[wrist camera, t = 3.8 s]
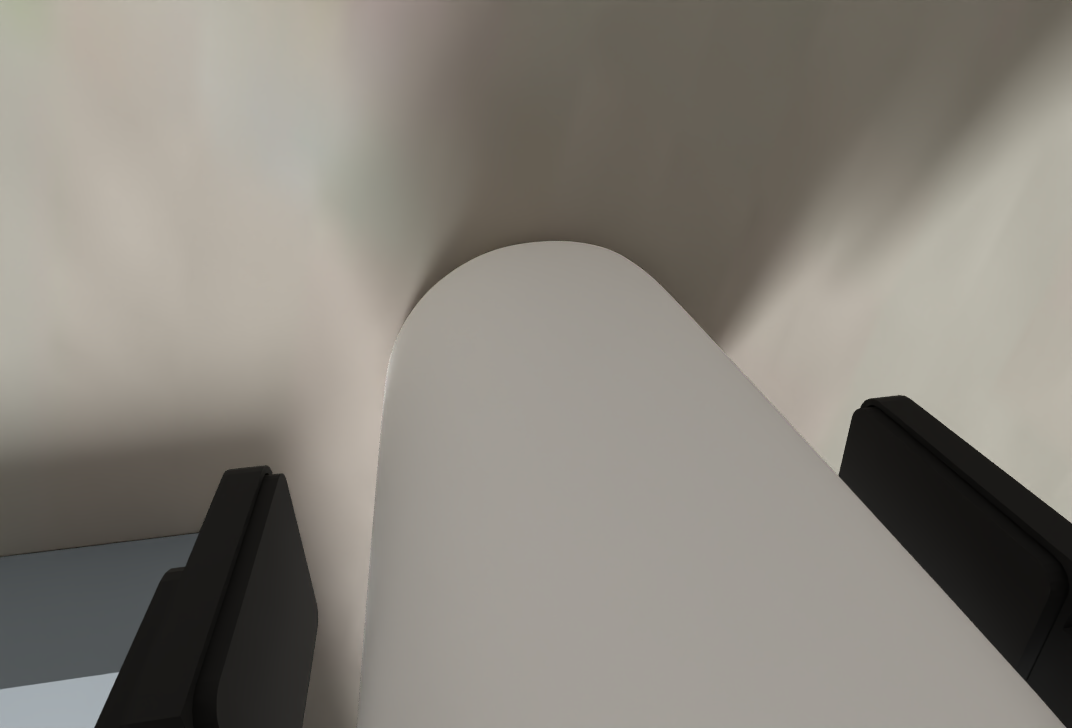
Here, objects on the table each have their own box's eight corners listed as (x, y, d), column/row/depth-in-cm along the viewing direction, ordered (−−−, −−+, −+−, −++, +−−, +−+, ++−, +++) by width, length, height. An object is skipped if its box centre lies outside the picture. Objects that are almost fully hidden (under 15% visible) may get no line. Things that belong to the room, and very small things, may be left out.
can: (720, 251, 14) (1733, 1032, 3) (644, 503, 16) (1052, 1364, 6) (398, 211, 12) (302, 1373, 2) (375, 495, 15) (286, 1597, 5)
